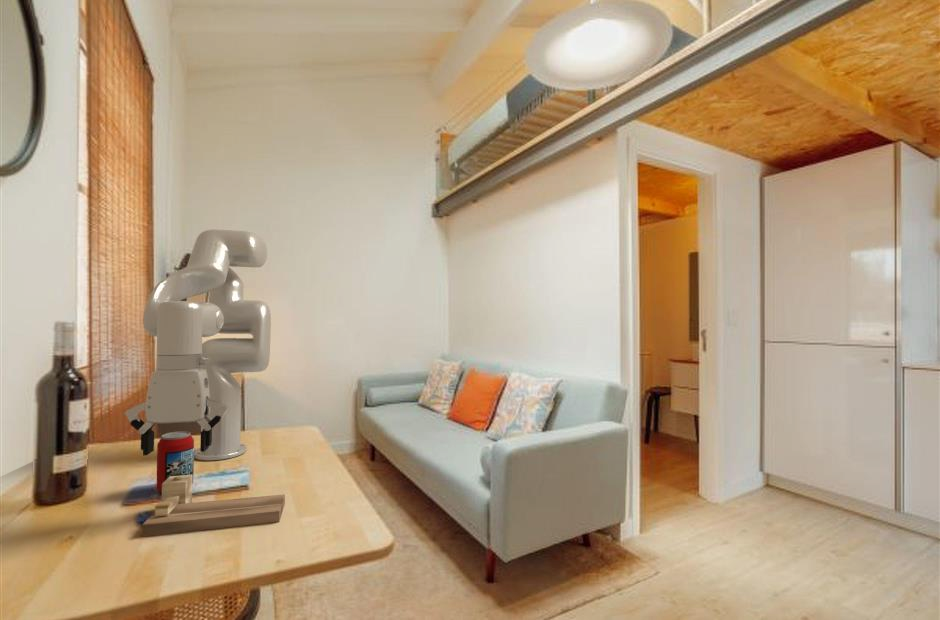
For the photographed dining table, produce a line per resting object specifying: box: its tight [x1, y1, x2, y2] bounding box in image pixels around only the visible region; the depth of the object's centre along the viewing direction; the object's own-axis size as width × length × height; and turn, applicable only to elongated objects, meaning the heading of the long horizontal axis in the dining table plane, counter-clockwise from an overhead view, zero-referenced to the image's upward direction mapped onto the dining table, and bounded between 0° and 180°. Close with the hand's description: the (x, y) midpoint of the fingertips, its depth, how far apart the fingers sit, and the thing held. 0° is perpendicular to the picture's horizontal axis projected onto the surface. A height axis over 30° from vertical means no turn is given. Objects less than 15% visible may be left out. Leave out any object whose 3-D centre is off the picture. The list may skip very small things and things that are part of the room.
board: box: [141, 494, 286, 537], centre depth 84 cm, size 8×22×2 cm, turn 106°
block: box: [154, 475, 193, 516], centre depth 85 cm, size 10×4×6 cm, turn 16°
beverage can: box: [156, 431, 195, 493], centre depth 98 cm, size 7×7×12 cm
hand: (177, 451), depth 87 cm, fingers open, 9 cm apart
